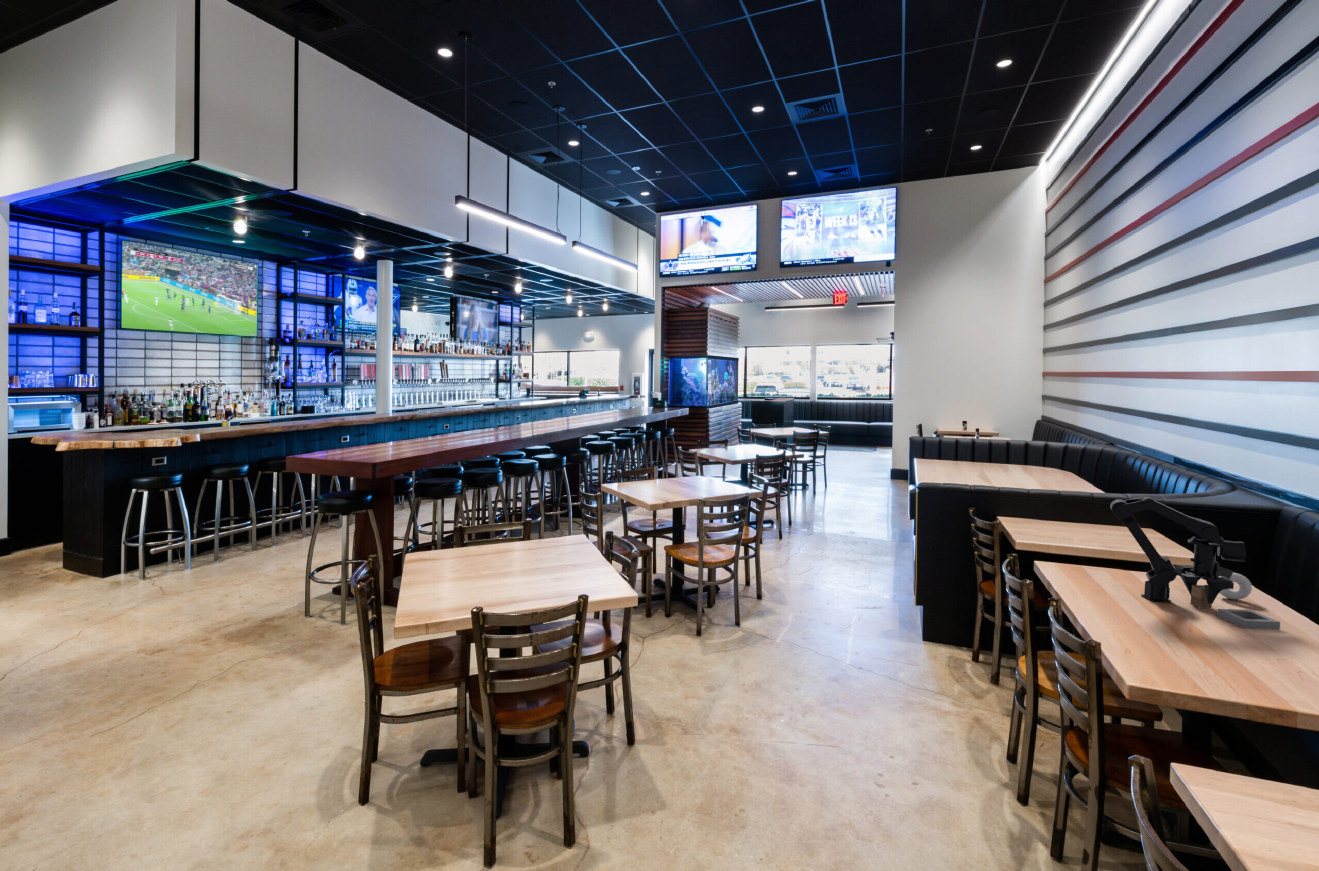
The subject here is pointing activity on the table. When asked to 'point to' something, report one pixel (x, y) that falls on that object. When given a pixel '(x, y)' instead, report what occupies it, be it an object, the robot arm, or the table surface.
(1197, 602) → the walnut post
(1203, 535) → the robot arm
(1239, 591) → the donut
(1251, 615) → the square well
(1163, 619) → the table surface
